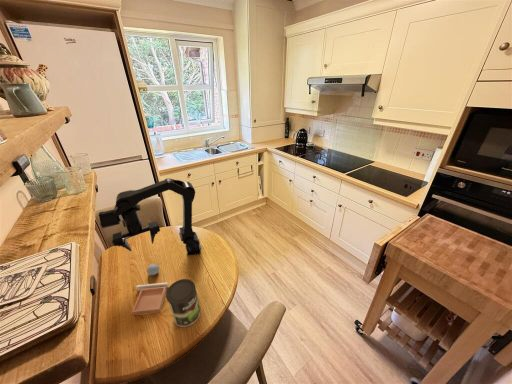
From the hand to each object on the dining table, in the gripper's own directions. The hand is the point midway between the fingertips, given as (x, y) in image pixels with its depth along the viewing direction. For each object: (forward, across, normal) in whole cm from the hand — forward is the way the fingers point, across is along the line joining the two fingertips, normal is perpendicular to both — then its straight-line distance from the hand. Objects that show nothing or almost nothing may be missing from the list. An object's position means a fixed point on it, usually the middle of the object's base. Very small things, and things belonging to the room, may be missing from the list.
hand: (142, 246), depth 99 cm
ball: (+13, -2, +6) cm, 14 cm away
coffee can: (+13, -10, +34) cm, 38 cm away
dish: (+12, +2, +21) cm, 25 cm away
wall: (+13, 0, +15) cm, 19 cm away
